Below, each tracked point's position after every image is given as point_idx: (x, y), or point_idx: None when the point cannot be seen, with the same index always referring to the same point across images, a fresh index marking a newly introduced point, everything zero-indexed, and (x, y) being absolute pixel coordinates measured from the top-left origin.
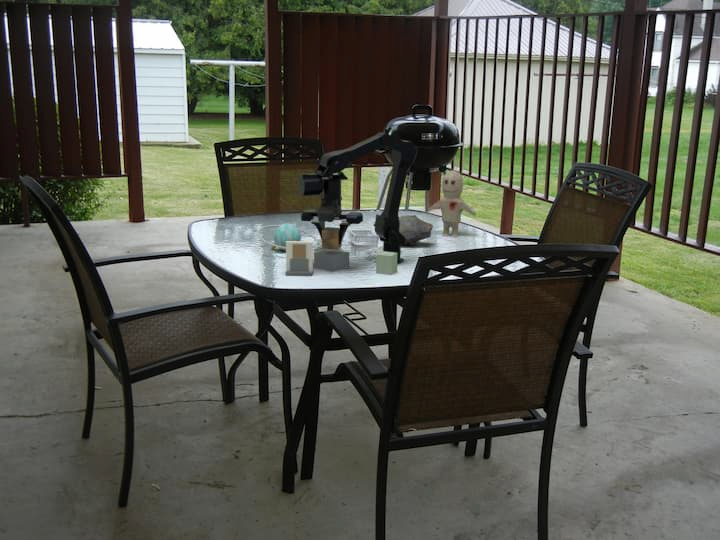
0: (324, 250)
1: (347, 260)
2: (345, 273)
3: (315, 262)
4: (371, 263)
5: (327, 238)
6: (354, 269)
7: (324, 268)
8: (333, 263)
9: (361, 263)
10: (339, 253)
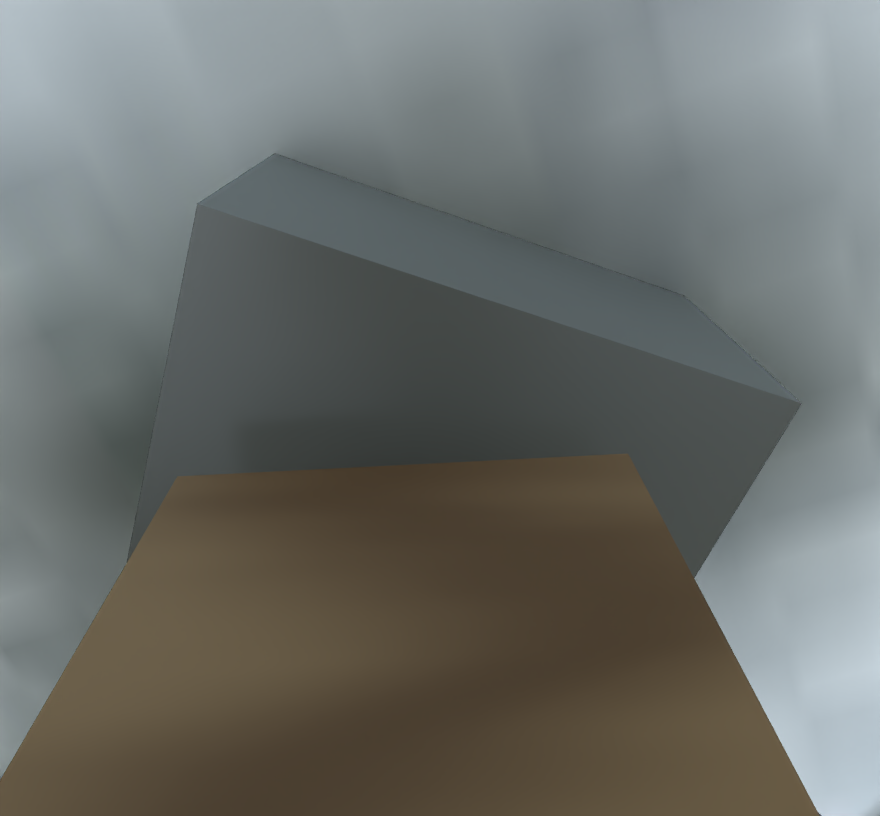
0: None
1: None
2: (23, 95)
3: (684, 315)
4: (17, 741)
5: (493, 710)
6: (39, 406)
7: (477, 229)
8: (252, 176)
9: None
10: None
